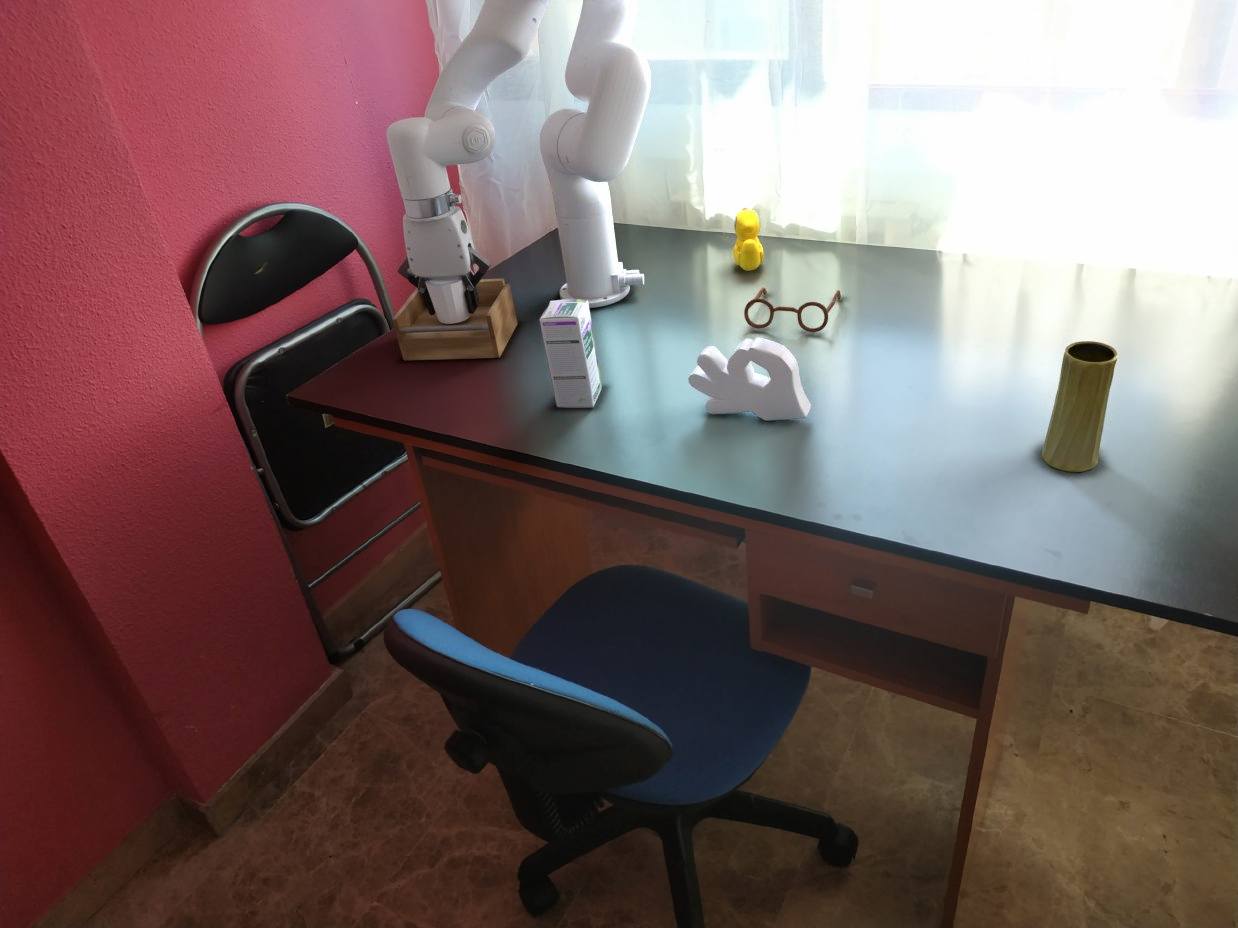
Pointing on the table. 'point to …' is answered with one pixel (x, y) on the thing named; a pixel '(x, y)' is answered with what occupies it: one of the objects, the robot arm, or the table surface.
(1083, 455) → the vase
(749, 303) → the glasses
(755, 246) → the duckling
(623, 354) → the table surface
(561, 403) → the syrup box
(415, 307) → the spice rack
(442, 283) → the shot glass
